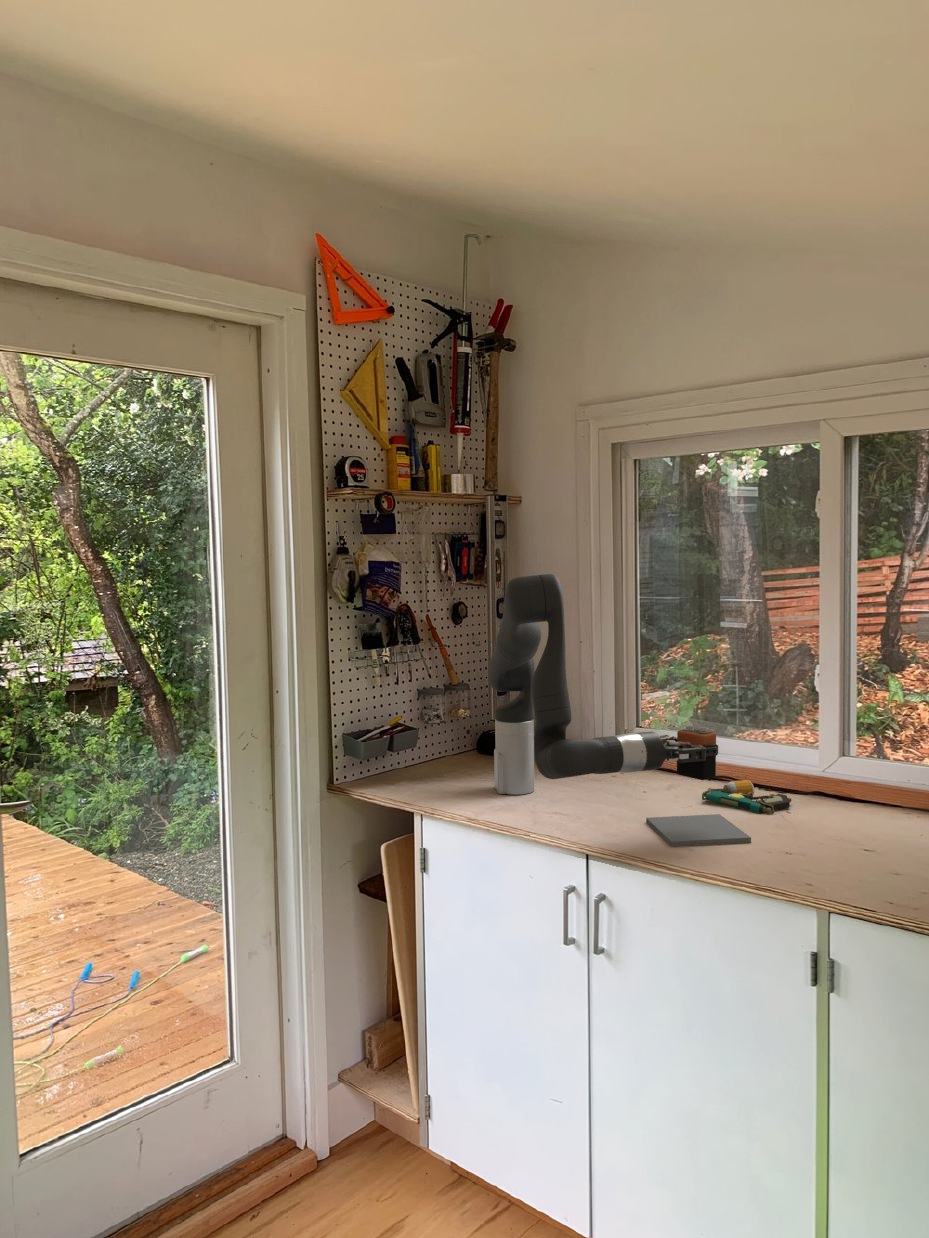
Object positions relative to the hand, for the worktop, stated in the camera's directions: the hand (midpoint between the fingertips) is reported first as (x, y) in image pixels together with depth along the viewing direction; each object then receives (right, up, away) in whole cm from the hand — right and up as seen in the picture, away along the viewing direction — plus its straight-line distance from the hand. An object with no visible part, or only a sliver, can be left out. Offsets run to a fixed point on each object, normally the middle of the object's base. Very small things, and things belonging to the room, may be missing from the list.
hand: (704, 745), depth 185 cm
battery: (-2, -6, 0) cm, 7 cm away
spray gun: (+15, -17, +20) cm, 30 cm away
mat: (-1, -18, +1) cm, 18 cm away
